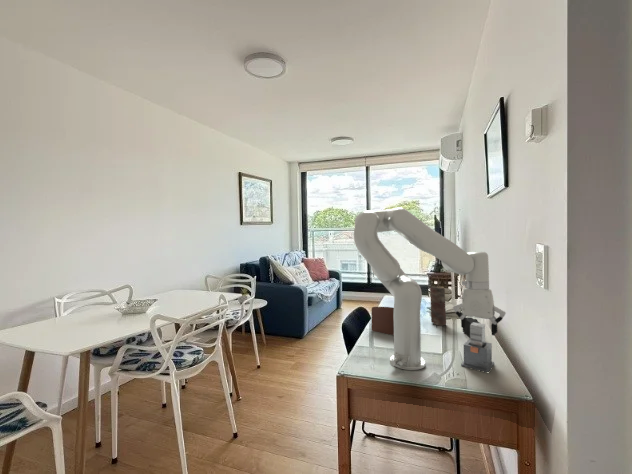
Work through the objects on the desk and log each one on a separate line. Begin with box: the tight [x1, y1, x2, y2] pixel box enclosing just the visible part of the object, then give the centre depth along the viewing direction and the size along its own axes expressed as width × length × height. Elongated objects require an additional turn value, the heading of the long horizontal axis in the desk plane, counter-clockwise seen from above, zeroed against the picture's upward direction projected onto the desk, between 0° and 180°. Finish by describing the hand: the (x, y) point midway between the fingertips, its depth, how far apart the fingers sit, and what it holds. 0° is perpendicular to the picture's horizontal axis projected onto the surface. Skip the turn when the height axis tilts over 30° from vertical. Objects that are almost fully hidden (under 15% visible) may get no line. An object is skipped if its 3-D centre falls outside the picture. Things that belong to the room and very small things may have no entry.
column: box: [469, 322, 486, 348], centre depth 116 cm, size 4×4×14 cm
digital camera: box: [462, 317, 482, 338], centre depth 149 cm, size 10×5×7 cm, turn 178°
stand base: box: [460, 338, 495, 373], centre depth 116 cm, size 9×9×8 cm
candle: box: [429, 286, 447, 327], centre depth 166 cm, size 8×7×20 cm
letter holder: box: [371, 306, 394, 336], centre depth 152 cm, size 10×20×14 cm, turn 56°
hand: (479, 332), depth 116 cm, fingers open, 9 cm apart
